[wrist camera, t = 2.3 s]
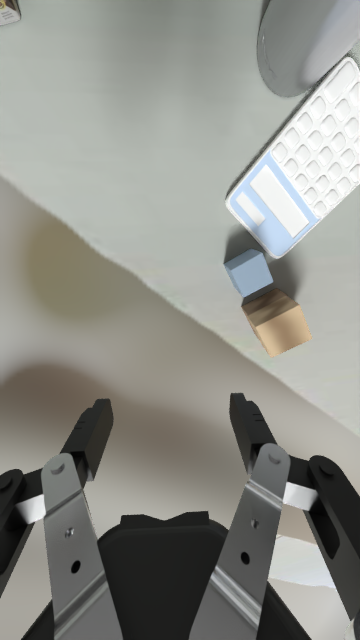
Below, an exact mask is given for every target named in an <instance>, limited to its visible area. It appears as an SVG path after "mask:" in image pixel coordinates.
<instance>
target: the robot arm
mask: <svg viewBox="0 0 360 640" xmlns="http://www.w3.org/2000/svg"><path fill="white" fill-rule="evenodd" d="M359 41H360V0H270V2H269V5H268V7H267V9H266V12H265V14H264V17H263V20H262V22H261V26H260V31H259V35H258V44H257V59H258V65H259V70H260V73H261V76H262V78H263V80H264V82H265V83H266V85H267V87H268V88H269V89H270V90H271V91H273V92H274V93H275V94H277V95H279V96H283V97H293V96H297V95H300V94H302V93H304V92H305V91H307V90H308V89H310V88H311V87H312V86H313V85H314V84H315V83H316V82H317V81H318V80H319V79H320V78H321V77H322V76H324V75H325V74H326V73H327V72H328V71H329V70H330V69H331V68H332V67H333V66H334V65H335V64H336V63H337V62H338V61H339V60H340V59H341V58H342V57H343V56H344V55H345V54H346V53H347V52H348V51H349V50H350V49H352V48H353V47H354V46H355V45H356V44H357V43H358V42H359ZM229 413H230V420H231V424H232V427H233V430H234V433H235V436H236V439H237V443H238V446H239V449H240V452H241V456H242V459H243V462H244V465H245V468H246V471H247V474H252V475H251V477H250V480H249V482H247V483H246V486H245V488H244V491H243V494H242V496H241V499H240V502H239V505H238V508H237V510H236V513H235V516H234V519H233V521H232V524H231V527H230V529H229V530H228V529H226V528H225V527H224V526H223V525H221V524H219V523H218V522H216V521H214V520H211V519H209V514H208V511H201V512H186V513H184V514H181V515H179V516H176V517H174V518H171V519H168V520H165V521H164V520H159V519H157V518H153V517H150V516H147V515H143V514H141V515H122V516H121V521H120V524H119V525H117V526H115V527H113V528H111V529H110V530H108V531H107V532H106V533H105V534H103V536H101V537H100V538H99V539H98V537H97V534H96V531H95V527H94V524H93V521H92V517H91V514H90V510H89V507H88V504H87V500H86V497H85V494H84V491H83V489H84V486H85V483H86V481H94V478H95V475H96V472H97V469H98V467H99V464H100V461H101V458H102V455H103V452H104V449H105V446H106V443H107V440H108V438H109V435H110V432H111V429H112V426H113V412H112V407H111V402H110V399H97V400H96V401H95V404H94V405H93V407H92V408H88V409H86V410H85V412H83V413H82V414H81V416H80V418H79V420H78V421H77V423H76V425H75V427H74V430H72V432H71V434H70V436H69V438H68V439H67V441H66V443H65V445H64V447H63V448H62V450H61V452H60V454H59V455H56V456H55V457H53V458H52V459H50V460H49V461H48V462H47V463H46V465H45V466H44V467H43V468H41V469H39V470H36V471H33V472H30V473H27V474H24V475H23V473H22V471H21V470H19V469H13V470H9V471H7V472H5V473H3V474H2V475H0V598H1V595H2V593H3V591H4V589H5V587H6V585H7V582H8V580H9V578H10V576H11V573H12V572H13V569H14V567H15V565H16V563H17V561H18V558H19V556H20V554H21V552H22V550H23V548H24V545H25V543H26V541H27V539H28V537H29V534H30V532H31V530H32V528H33V526H34V524H35V522H36V521H37V520H39V519H42V518H44V529H45V538H46V548H47V557H48V565H49V575H50V583H51V592H52V600H51V601H50V602H49V604H48V605H47V606H46V608H45V609H44V610H43V611H42V613H41V614H40V616H39V617H38V618H37V619H36V621H35V622H34V623H33V625H32V626H31V627H30V628H29V630H28V631H27V632H26V634H25V635H24V636H23V638H22V639H21V640H312V639H311V638H310V637H309V635H308V634H307V633H306V631H305V630H304V629H303V627H302V626H301V625H300V624H299V622H298V621H297V619H296V618H295V617H294V616H293V614H292V613H291V611H290V610H289V609H288V608H287V606H286V605H285V603H284V602H283V601H282V599H281V598H280V597H279V595H278V594H277V593H276V591H275V590H274V589H273V587H272V586H271V585H270V583H269V582H268V581H267V579H268V574H269V569H270V564H271V560H272V555H273V550H274V545H275V540H276V535H277V529H278V525H279V520H280V515H281V510H282V503H285V504H289V505H291V506H294V507H298V508H300V509H303V512H304V514H305V516H306V519H307V521H308V523H309V526H310V528H311V530H312V533H313V535H314V537H315V540H316V542H317V544H318V547H319V549H320V551H321V554H322V556H323V558H324V561H325V563H326V565H327V568H328V570H329V572H330V575H331V577H332V579H333V582H334V584H335V586H336V589H337V591H338V593H339V595H340V598H341V600H342V602H343V605H344V607H345V609H346V612H347V614H348V616H349V619H350V621H351V622H350V624H349V625H348V627H347V629H346V631H345V640H360V496H359V495H358V493H357V492H356V491H355V489H354V488H353V486H352V485H351V483H350V482H349V480H348V479H347V477H346V476H345V474H344V473H343V471H342V470H341V469H340V467H339V466H338V465H337V464H336V463H334V462H333V461H332V460H330V459H328V458H326V457H324V456H319V455H315V456H312V457H311V458H310V460H309V461H307V460H303V459H299V458H295V457H293V456H290V455H288V454H287V452H286V451H285V450H284V449H283V448H281V447H280V446H278V445H277V443H276V441H275V439H274V437H273V435H272V433H271V431H270V429H269V427H268V425H267V423H266V422H265V420H264V418H263V415H262V413H261V412H260V410H259V408H258V406H257V405H256V404H255V403H254V402H253V401H246V399H245V397H244V395H243V393H231V395H230V411H229Z"/></svg>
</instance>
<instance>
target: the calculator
mask: <svg viewBox="0 0 360 640" xmlns="http://www.w3.org/2000/svg"><path fill="white" fill-rule="evenodd" d="M341 93H342V94H341ZM303 113H304V114H303ZM344 119H345V120H344ZM315 130H316V131H315ZM335 162H336V163H335ZM356 164H357V165H356ZM359 184H360V70H359V68H358V66H357V64H356V63H355V61H354V60H353V59H352V58H351V57H345V58H343V59H342V60H341V61H340V62H339V63H338V64H337V65H336V66H335V67H334V68H333V69H332V70H331V71H330V73H329V74H328V75H327V76H326V77H325V79H324V80H323V81H322V82H321V83H320V84H319V86H318V87H317V88H316V89H315V91H314V92H313V93H312V94H311V95H310V97H309V98H308V99H307V100H306V101H305V103H304V104H303V105H302V106H301V107H300V109H299V110H298V111H297V112H296V113H295V115H294V116H293V117H292V118H291V119H290V121H289V122H288V123H287V124H286V125H285V127H284V128H283V129H282V130H281V131H280V133H279V134H278V135H277V136H276V137H275V139H274V140H273V141H272V142H271V143H270V145H269V146H268V147H267V148H266V149H265V151H264V152H263V153H262V154H261V156H260V157H259V158H258V159H257V160H256V162H255V163H254V164H253V165H252V166H251V168H250V169H249V170H248V171H247V172H246V174H245V175H244V176H243V177H242V178H241V180H240V181H239V182H238V183H237V184H236V186H235V187H234V188H233V189H232V191H231V192H230V193H229V194H228V196H227V198H226V201H225V203H226V206H227V208H228V209H229V210H230V212H231V213H232V214H233V215H234V216H235V217H236V218H237V220H238V221H239V222H240V223H241V224H242V225H243V226H244V227H245V228H246V230H247V231H248V232H249V233H250V234H251V235H252V236H253V237H254V238H255V240H256V241H257V242H258V243H259V244H260V245H261V246H262V247H263V248H264V250H265V251H266V252H267V253H268V254H269V255H270V256H271V257H273V258H275V259H278V258H281V257H282V256H284V255H285V254H286V253H287V252H288V251H289V250H290V249H291V248H292V247H294V246H295V245H296V244H297V243H298V242H299V241H300V240H301V239H302V238H303V237H304V236H305V235H306V234H307V233H308V232H309V231H310V230H311V229H312V228H313V227H315V226H316V225H317V224H318V223H319V222H320V221H321V220H322V219H323V218H324V217H325V216H326V215H327V214H328V213H329V212H330V211H331V210H332V209H333V208H334V207H336V206H337V205H338V204H339V203H340V202H341V201H342V200H343V199H344V198H345V197H346V196H347V195H348V194H349V193H350V192H351V191H352V190H353V189H354V188H355V187H357V186H358V185H359Z"/></svg>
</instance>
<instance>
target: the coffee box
mask: <svg viewBox="0 0 360 640" xmlns="http://www.w3.org/2000/svg"><path fill="white" fill-rule="evenodd" d="M20 18H21V16H20V12H19V9H18V6H17V4H16V1H15V0H0V26H1V25H5V24H9V23H12V22H16V21H19V20H20Z"/></svg>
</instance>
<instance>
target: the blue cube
mask: <svg viewBox="0 0 360 640" xmlns="http://www.w3.org/2000/svg"><path fill="white" fill-rule="evenodd" d="M224 266H225V268H226V270H227V272H228V275H229V277H230V279H231V281H232V283H233V285H234V287H235V289H236V290H237V291H238V292H239V293H240V294H241V295H242V297H243V298H244V297H246V296H248V295H249V294H251V293H253V292H255V291H257V290H259V289H261V288H263V287H265V286H267V285H268V284H270V283H272V282H273V279H272V276H271V274H270V271H269V269H268V266H267V263H266V261H265V258H264V256H263V253H262V252H259V251H256V250H254V249H249V250H247V251H245V252H244V253H242V254H240V255H238V256H237V257H235V258H233V259H232V260H230V261H228V262H226V263H225V264H224Z"/></svg>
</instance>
